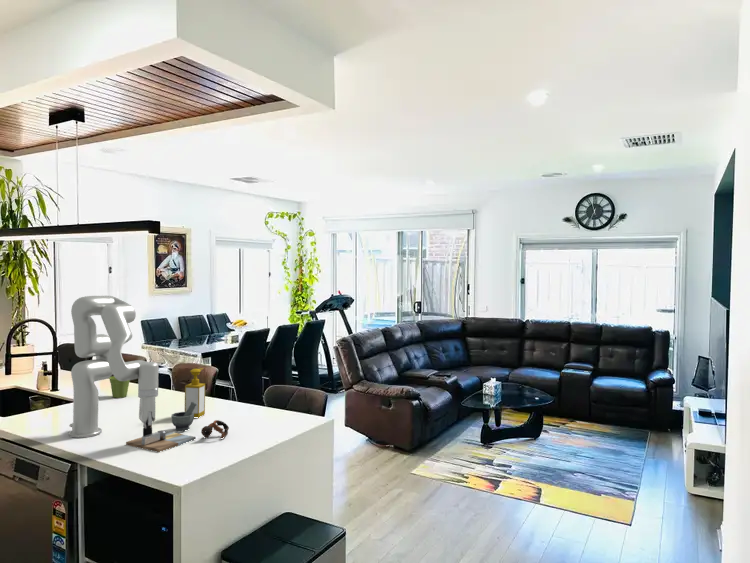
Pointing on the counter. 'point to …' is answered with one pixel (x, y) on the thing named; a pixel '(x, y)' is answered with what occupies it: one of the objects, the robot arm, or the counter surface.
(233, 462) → the counter surface
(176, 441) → the latch board
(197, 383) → the white and gold bottle
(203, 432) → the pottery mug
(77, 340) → the robot arm
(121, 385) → the plant pot
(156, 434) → the bar
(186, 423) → the mortar and pestle
